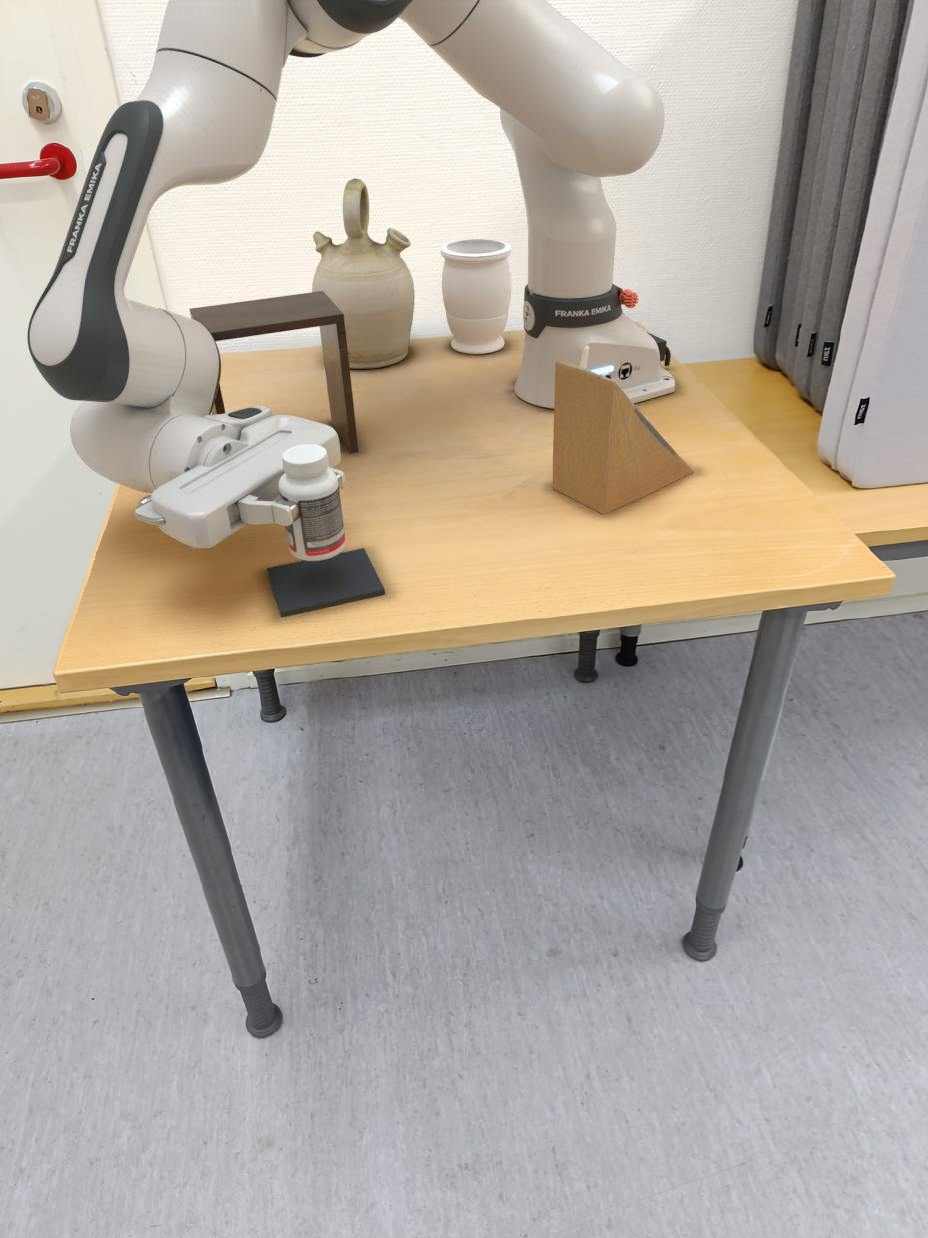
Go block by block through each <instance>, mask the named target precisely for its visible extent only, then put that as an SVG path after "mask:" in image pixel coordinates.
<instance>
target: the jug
mask: <svg viewBox="0 0 928 1238" xmlns="http://www.w3.org/2000/svg"><path fill="white" fill-rule="evenodd" d="M342 220H343V228H344V231H345V234H346V236H347V238H346V239H345V240H344V242H343V243H340V244H334V243H333V238H331V237H330V236H326V235H325V234H323V233H322V232H320V231H315V232H314V233H313V235H312V238H313V242H314V244H315V251H316V252H317V253H319V254H320V260H319V262H318V264H317V266H316V269H315V271H314V274H313V277H312V284H311V292H318V291H324V293H325V294H326V295H327V296H328V297H329V298H330V299H331V300H332V302H333V303H334V304H335V305H336V306H337V307H338V308H339V309H340V311H341V312H342V313H343V314H344V321H345V322H344V323H345V330H346V339H347V348H348V357H349V367H350V369H352V370H354V369H355V370H363V369H364V370H367V369H369V370H371V369H380V368H384V367H389V366H393V365H395V364H398V363H400V362H401V361H403V360H404V359H405V358H406V357H407V356H408V353H409V346H410V341H411V332H412V326H413V320H414V312H415V285H414V279H413V276H412V273H411V271H410V269H409V267H408V265H407V263H406V262H405V260H404V259H403V257H402V256H401V253H402V252H403V251H405V250H406V249H407V248H409V247H411V245H412V243H411V241H410V239H409V238H408V237H407V236H406V235H405V234H403V233H402V232H401V231H399V230H397V229H396V228H392V227H390V228H388V229H387V230H386V237H385V242H383V243H381V242H377V241H375V240H373V239H372V238H371V237H370V235H369V231H368V230H369V226H370V225H369V224H370V197H369V191H368V186H367V184H366V182H364V181H363V180H362V179H361V178H355V177H354V178H352V179H349V180H348V181H347V182H346V183H345V186H344V190H343V194H342ZM318 327H319V328H320V326H318Z"/></svg>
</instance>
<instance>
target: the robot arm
mask: <svg viewBox="0 0 928 1238" xmlns="http://www.w3.org/2000/svg"><path fill="white" fill-rule="evenodd" d="M397 19H399V20H400V21H402V22H404V23H406V24H407V25H408V27H409V28H411V30H412V31H413V32H414V33H415V34H416V35H417V36H418V37H419V38H420V39H421V40H422V41H423V42H424V43H425V44H426V45H427V46H428V47H429V48H430V49H431V50H432V51H433V52H435V54H437V55H438V56H439V58H441V59H442V60H443V61H444V62H445V63H446V64H447V66H449V67H450V68H451V69H452V70H453V71H454V72H455V73H456V74H457V75H458V76H459V77H460V78H461V79H462V80H463V81H464V82H466V83H467V84H468V85H469V87H471V88H472V89H473V91H475V92H476V93H477V94H478V95H479V96H480V97H482V98H484V99H486V100H487V101H489V102H491V103H492V104H494V105H495V106H497V107H498V108H499V116H500V123H501V127H502V131H503V132H504V134H505V137H506V138H507V140H508V142H509V145H510V146H511V148H512V151H513V155H514V157H515V158H514V159H515V162H516V166H517V171H518V176H519V180H520V186H521V191H522V195H523V201H524V207H525V213H526V221H527V224H526V225H527V283H526V285H525V286H524V290H523V291H524V293H523V305H522V306H523V308H522V320H523V321H522V322H523V329H524V340H523V341H524V342H523V348H522V355H521V359H520V365H519V370H518V375H517V377H516V381H515V384H514V387H513V391H514V393H515V395H516V396H517V397H518V398H520V399H521V400H523V401H524V402H527V403H529V404H531V405H534V406H538V407H542V408H546V409H553V410H554V401H555V364H556V362H557V361H558V360H559V361H563V362H566V363H569V364H572V365H575V366H579V367H582V368H585V369H588V370H590V371H593V372H595V373H597V374H600V375H602V376H605V377H607V378H609V379H612V380H613V381H615V382H616V383H617V384H618V386H619V387H620V388H621V389H622V390H623V392H624V393H625V394H626V395H627V396H628V398H629V399H630V400H631V401H632V402H633V404H634V405H635V404H637V403H640V402H644V401H648V400H652V399H654V398H658V397H661V396H664V395H669V394H672V393H674V392H675V391H676V381H675V378H674V377H673V375H672V374H671V373H670V372H669V371H667V370H666V368H664V367H669V366H670V365H671V357H672V353H671V350H670V348H669V347H668V346H667V344H668V343H667V342H668V341H667V340H665V339H663V338H661V337H659V336H657V335H655V334H652V333H650V332H648V331H647V330H645V329H644V328H642V327H641V326H640V325H639V324H637V323H636V322H635V321H634V320H633V319H632V318H630V317H629V316H628V315H627V314H625V313H624V312H623V307H622V305H623V306H625V307H626V308H628V309H633V308H635V307H636V306H637V304H638V303H639V295H638V293H637V292H635V291H632V290H631V289H627V288H626V289H623V288H621V287H619V285H616V284H614V283H613V281H614V266H615V253H616V239H617V223H616V218H615V216H614V213H613V211H612V209H611V208H610V206H609V204H608V203H607V200H606V199H607V198H606V197H605V193H604V189H603V185H602V180H601V178H612V177H620V176H627V175H630V174H633V173H635V172H637V171H639V170H640V169H642V168H644V166H646V164H647V163H649V162H650V160H651V159H652V157H653V156H654V154H655V153H656V151H657V149H658V147H659V145H660V143H661V141H662V136H663V133H664V127H665V109H664V103H663V99H662V97H661V95H660V92H659V90H658V89H657V88H656V86H655V85H654V84H653V83H652V82H650V81H649V80H648V79H646V78H645V77H643V76H642V75H640V74H638V73H637V72H635V71H634V70H632V69H630V68H629V67H628V66H626V65H625V64H623V63H622V62H621V61H620V60H618V59H617V58H616V57H615V56H614V55H613V54H612V53H611V52H609V50H607V49H605V47H604V46H602V45H601V44H600V43H599V42H598V41H596V40H595V38H593V37H592V36H591V35H589V34H588V33H587V32H585V31H584V30H583V29H582V28H581V27H579V26H578V25H576V24H575V23H574V22H573V21H571V19H569V18H568V17H566V16H564V15H563V13H561V12H560V11H558V10H557V8H555V7H554V6H553V5H552V4H551V3H550V2H549V1H547V0H168V2H167V6H166V8H165V12H164V16H163V20H162V24H161V27H160V31H159V36H158V42H157V45H156V50H155V56H154V61H153V65H152V68H151V71H150V73H149V77H148V79H147V81H146V84H145V85H144V87H143V89H142V90H141V92H140V93H139V94H138V97H137V98H136V99H135V100H133V101H132V100H131V101H127V102H125V103H123V104H122V105H120V106H119V107H118V108H116V110H115V111H114V113H113V114H112V115H111V117H110V118H109V120H108V121H107V123H106V125H105V127H104V130H103V132H102V133H101V136H100V139H99V141H98V144H97V147H96V149H95V152H94V154H93V157H92V160H91V163H90V166H89V168H88V172H87V175H86V177H85V181H84V183H83V186H82V189H81V191H80V195H79V197H78V201H77V204H76V207H75V209H74V213H73V215H72V219H71V222H70V224H69V228H68V231H67V233H66V237H65V240H64V242H63V245H62V249H61V251H60V254H59V257H58V259H57V263H56V265H55V268H54V271H53V273H52V275H51V277H50V279H49V281H48V283H47V285H46V287H45V288H44V290H43V292H42V294H41V295H40V297H39V299H38V300H37V302H36V305H35V307H34V309H33V311H32V313H31V315H30V319H29V322H28V328H27V336H26V337H27V339H26V340H27V346H28V351H29V354H30V357H31V359H32V361H33V363H34V365H35V366H36V369H37V370H38V372H39V374H40V375H41V376H42V378H43V379H44V380H45V382H46V384H48V385H49V387H50V388H51V389H52V390H53V391H54V392H56V394H58V395H59V396H60V397H63V398H64V399H66V400H69V401H79V402H81V403H80V404H79V405H78V406H77V408H76V409H75V410H74V412H73V414H72V417H71V420H70V425H69V434H70V439H71V443H72V446H73V449H74V450H75V453H76V454H77V455H78V457H79V458H80V459H81V461H82V462H83V463H84V464H85V465H86V466H87V467H88V468H89V469H90V470H92V471H93V472H95V473H96V474H98V475H100V476H101V477H103V478H105V479H107V480H109V481H111V482H113V483H116V484H118V485H121V486H123V487H126V488H129V489H131V490H135V491H137V492H140V493H145V494H148V495H146V496H144V497H142V498H140V500H139V501H138V502H137V506H136V507H135V509H134V516H135V517H136V519H137V520H139V521H140V522H143V523H146V524H149V525H153V526H157V527H158V528H159V530H160V531H162V532H163V533H164V534H165V535H167V536H168V537H171V538H172V539H174V540H176V541H178V542H180V543H182V544H184V545H186V546H188V547H191V548H193V549H196V550H197V549H209V548H213V547H215V546H216V545H218V544H219V543H221V542H223V541H224V540H226V539H227V538H229V537H230V536H232V535H233V534H235V533H236V532H238V531H239V530H241V529H242V528H243V527H245V526H247V525H252V526H255V525H257V526H258V525H268V524H278V525H281V526H284V527H285V526H289V525H291V524H292V523H294V522H295V521H296V520H298V519H299V518H300V513H299V512H298V511H299V506H298V504H297V503H296V502H294V501H289V500H287V499H284V498H282V499H280V494H279V487H278V484H279V480H280V478H281V477H282V475H283V474H285V472H284V469H283V462H282V454H283V453H284V452H285V451H286V450H287V449H289V448H291V447H294V446H298V445H304V444H314V445H319V446H322V447H323V448H325V449H326V451H327V456H328V461H329V464H328V469H330V470H332V471H333V472H334V473H335V474H336V476H337V478H338V483H339V491H341V490H343V489H344V488H345V487H346V485H347V484H346V475H345V473H344V472H343V471H342V470H340V469H336V468H335V467H337V466H338V465H339V464H341V461H342V453H341V444H340V437H339V433H338V432H337V430H336V429H335V428H334V427H332V426H330V425H328V424H326V423H322V422H318V421H315V420H312V419H308V418H304V417H300V416H296V415H290V414H275V415H273V412H272V410H271V408H270V407H267V406H265V405H252V406H250V407H246V408H242V409H239V410H235V411H230V412H227V413H226V412H225V414H216V415H212V413H211V412H212V409H213V405H214V402H215V399H216V396H217V392H218V388H219V383H220V381H221V377H222V376H221V375H222V360H221V354H220V353H221V352H220V350H219V347H218V344H217V341H215V339H214V337H213V336H212V334H211V333H210V331H209V330H208V329H207V327H206V326H204V325H203V324H202V323H201V322H199V321H197V320H195V319H191V317H188V316H185V315H182V314H179V313H176V312H174V311H171V310H167V309H163V308H161V307H155V306H151V305H147V304H145V303H142V302H139V301H136V300H132V299H129V298H127V297H126V294H125V287H126V282H127V279H128V277H129V273H130V271H131V268H132V264H133V261H134V259H135V256H136V253H137V250H138V247H139V244H140V241H141V238H142V235H143V232H144V230H145V226H146V224H147V220H148V218H149V215H150V213H151V210H152V208H153V207H154V205H155V204H156V202H157V201H158V200H159V199H160V198H161V197H162V196H163V195H164V194H166V193H167V192H169V191H171V190H173V189H176V188H180V187H184V186H211V185H220V184H224V183H229V182H231V181H234V180H236V179H239V178H240V177H243V175H245V174H247V173H248V172H250V171H251V170H252V169H253V168H254V167H255V166H256V165H257V164H258V163H259V162H260V160H261V158H262V156H263V154H264V152H265V150H266V147H267V144H268V141H269V139H270V135H271V131H272V127H273V122H274V117H275V112H276V108H277V104H278V103H277V102H278V97H279V93H280V87H281V82H282V75H283V69H284V68H285V65H286V63H287V60H288V57H289V56H292V57H297V58H304V59H305V58H307V59H308V58H311V59H312V58H317V57H320V56H323V55H327V54H328V53H334V52H339V51H342V50H345V49H348V48H351V47H353V46H355V45H357V44H359V43H360V42H361V41H362V40H363V39H365V38H367V37H368V36H371V35H372V34H374V33H378V32H380V31H383V30H385V29H386V28H388V27H389V26H391V25H392V24H393V23H394V22H395V21H397ZM661 362H664V367H663V366H661Z"/></svg>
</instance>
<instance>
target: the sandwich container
mask: <svg viewBox="0 0 928 1238" xmlns="http://www.w3.org/2000/svg"><path fill="white" fill-rule="evenodd" d="M552 437H553V439H552V440H553V441H552V443H553V444H552V489H554V490H555V491H557V492H559V493H561V494H563V495H565V496H566V497H569V498H571V499H572V500H575V501H577V502H578V503H580V504H582V505H584V506H586V507H588V508H589V509H592V510H594V511H596V512H598V513H600V514H602V515H605V514H608V513H610V512H613V511H615V510H617V509H619V508H622V507H624V506H626V505H628V504H631V503H632V502H636V501H638V500H639V499H642V498H644V497H647V496H649V495H650V494H652V493H655V492H656V491H659V490H660V489H662V488H664V487H666V486H668V485H670V484H672V483H675V482H676V481H679V480H680V479H683V478H685V477H687V476H688V475H691V474H693V473H695V471H694V470H693V469H692V467H691V466H689V465H688V463H687V462H686V461H685V460H684V459H683V457H681V455H680V454H678V453H677V451H676V450H675V449H674V448H673V447H672V445H670V443H668V441H667V440H666V439H665V438H664V437H663V436H662V434H661V433H660V432H659V431H658V430H657V429H656V428H655V426H654V425H653V424H652V423H651V422H650V421H649V420H648V419H647V418H646V417H645V416H644V414H643V413H642V412H641V411H640V410H639V408H638V407H637V406H636V405H635V403H634V404H633V402H632V401H631V400H630V399H629V398H628V396H627V395H626V394H625V393H624V392H623V390H622V389H621V388H620V387H619V386H618V384H617V383H616V382H615V381H613V380H612V379H609V378H607V377H605V376H602V375H600V374H597V373H595V372H593V371H590V370H588V369H585V368H582V367H579V366H575V365H572V364H569V363H566V362H563V361H559V360H558V361H557V362H556V364H555V401H554V409H553V436H552Z"/></svg>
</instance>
